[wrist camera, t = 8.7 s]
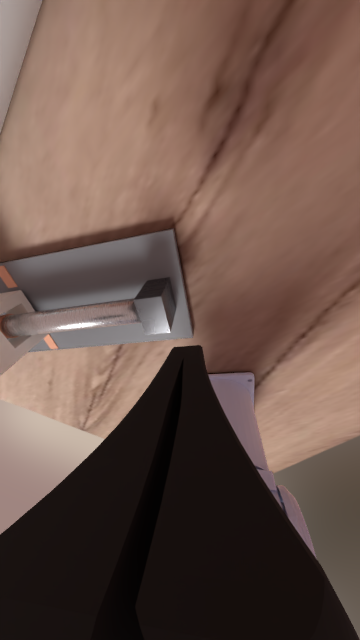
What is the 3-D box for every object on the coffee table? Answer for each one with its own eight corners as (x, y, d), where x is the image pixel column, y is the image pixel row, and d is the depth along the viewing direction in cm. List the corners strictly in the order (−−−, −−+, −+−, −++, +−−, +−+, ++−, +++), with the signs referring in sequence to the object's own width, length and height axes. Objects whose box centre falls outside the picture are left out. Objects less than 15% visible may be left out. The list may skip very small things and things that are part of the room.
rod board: (193, 332, 20) (191, 365, 16) (6, 350, 24) (-32, 379, 20) (173, 228, 15) (163, 238, 11) (-59, 274, 19) (-126, 293, 15)
